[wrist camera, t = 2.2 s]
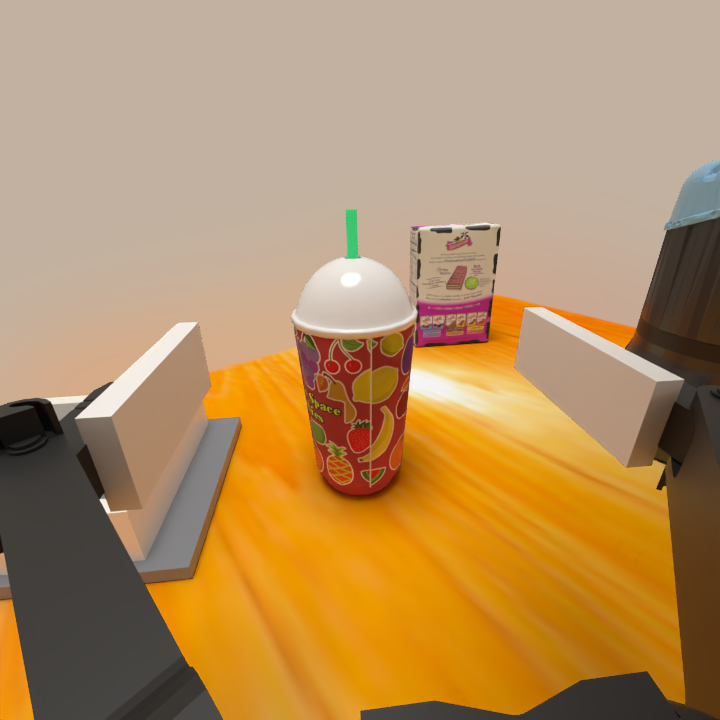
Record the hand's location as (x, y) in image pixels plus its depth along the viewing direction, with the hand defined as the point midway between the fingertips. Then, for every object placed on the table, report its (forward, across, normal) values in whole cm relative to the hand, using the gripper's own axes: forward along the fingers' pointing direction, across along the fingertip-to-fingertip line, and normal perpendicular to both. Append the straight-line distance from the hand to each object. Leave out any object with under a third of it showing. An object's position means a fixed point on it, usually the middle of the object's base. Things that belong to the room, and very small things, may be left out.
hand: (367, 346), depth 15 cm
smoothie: (+10, 0, -15) cm, 18 cm away
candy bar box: (+37, +16, -15) cm, 43 cm away
